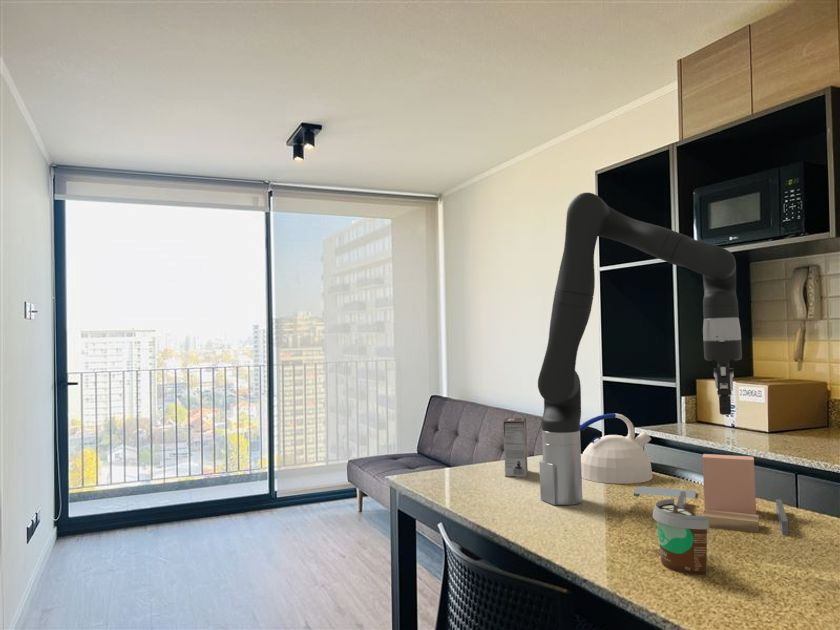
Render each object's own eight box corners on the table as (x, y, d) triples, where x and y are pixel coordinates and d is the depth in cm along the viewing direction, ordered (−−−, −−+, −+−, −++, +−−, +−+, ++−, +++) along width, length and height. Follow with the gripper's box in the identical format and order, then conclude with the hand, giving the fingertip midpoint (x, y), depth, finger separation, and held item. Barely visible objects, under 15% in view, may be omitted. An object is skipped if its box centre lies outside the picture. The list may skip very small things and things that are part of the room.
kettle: (665, 483, 168) (662, 416, 169) (588, 485, 168) (586, 418, 169) (639, 468, 188) (637, 408, 189) (571, 469, 188) (569, 410, 189)
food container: (642, 554, 114) (640, 499, 114) (674, 552, 114) (672, 497, 115) (675, 580, 102) (672, 518, 102) (711, 578, 102) (708, 516, 103)
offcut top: (758, 532, 121) (758, 521, 121) (702, 525, 125) (702, 515, 126) (759, 525, 125) (758, 515, 125) (704, 519, 130) (704, 509, 130)
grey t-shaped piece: (694, 500, 149) (694, 498, 149) (633, 495, 156) (633, 493, 156) (696, 493, 157) (696, 490, 157) (638, 488, 163) (637, 486, 163)
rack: (788, 542, 118) (787, 521, 118) (675, 530, 127) (674, 510, 127) (782, 518, 134) (781, 499, 134) (681, 509, 143) (680, 491, 143)
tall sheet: (756, 521, 132) (753, 460, 133) (705, 516, 137) (702, 457, 137) (755, 516, 136) (753, 456, 136) (705, 512, 140) (703, 453, 141)
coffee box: (506, 470, 189) (505, 417, 190) (528, 470, 188) (526, 417, 189) (504, 476, 180) (503, 421, 181) (527, 477, 179) (525, 421, 180)
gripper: (704, 338, 146) (707, 408, 145) (702, 339, 133) (705, 415, 132) (740, 338, 142) (744, 409, 142) (741, 338, 130) (745, 416, 129)
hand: (725, 412), depth 137 cm, fingers open, 8 cm apart
